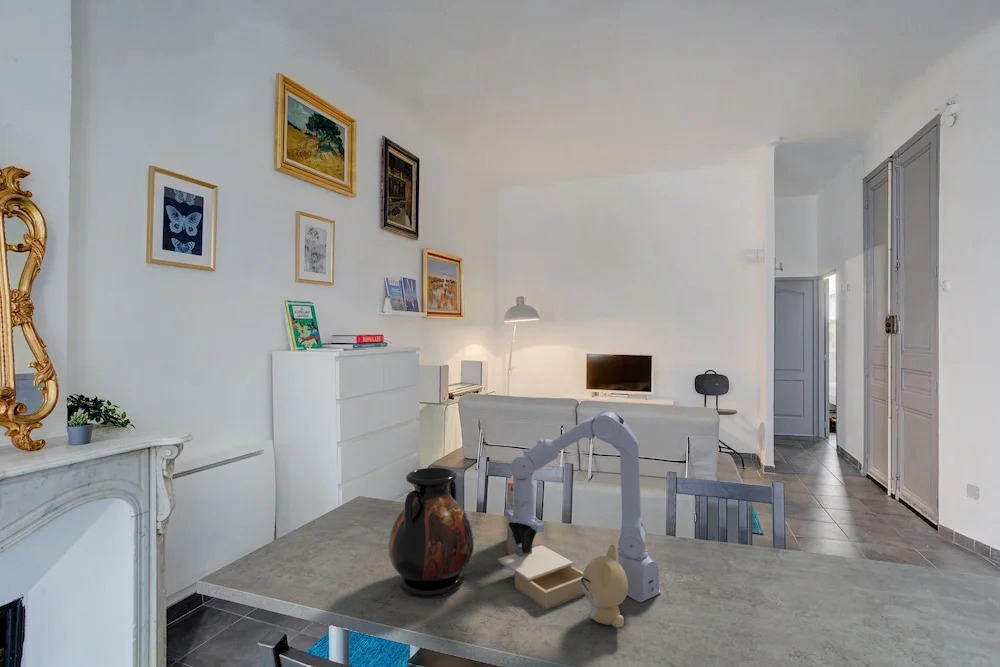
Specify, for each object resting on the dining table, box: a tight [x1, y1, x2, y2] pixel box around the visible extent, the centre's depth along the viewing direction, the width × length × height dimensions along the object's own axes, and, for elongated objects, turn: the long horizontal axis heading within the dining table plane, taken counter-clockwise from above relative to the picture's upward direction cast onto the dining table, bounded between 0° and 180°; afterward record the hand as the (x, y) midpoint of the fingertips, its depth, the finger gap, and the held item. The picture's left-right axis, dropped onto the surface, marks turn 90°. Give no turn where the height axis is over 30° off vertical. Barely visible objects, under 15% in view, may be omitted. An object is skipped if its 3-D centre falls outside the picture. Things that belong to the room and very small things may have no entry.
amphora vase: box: [387, 467, 475, 599], centre depth 124 cm, size 22×22×28 cm
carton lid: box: [498, 542, 574, 581], centre depth 125 cm, size 13×15×3 cm
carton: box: [514, 565, 585, 611], centre depth 120 cm, size 12×14×4 cm
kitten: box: [581, 543, 628, 628], centre depth 108 cm, size 15×10×15 cm, turn 159°
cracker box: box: [506, 475, 516, 556], centre depth 146 cm, size 14×6×21 cm, turn 168°
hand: (523, 550), depth 129 cm, fingers closed on carton lid, 2 cm apart
